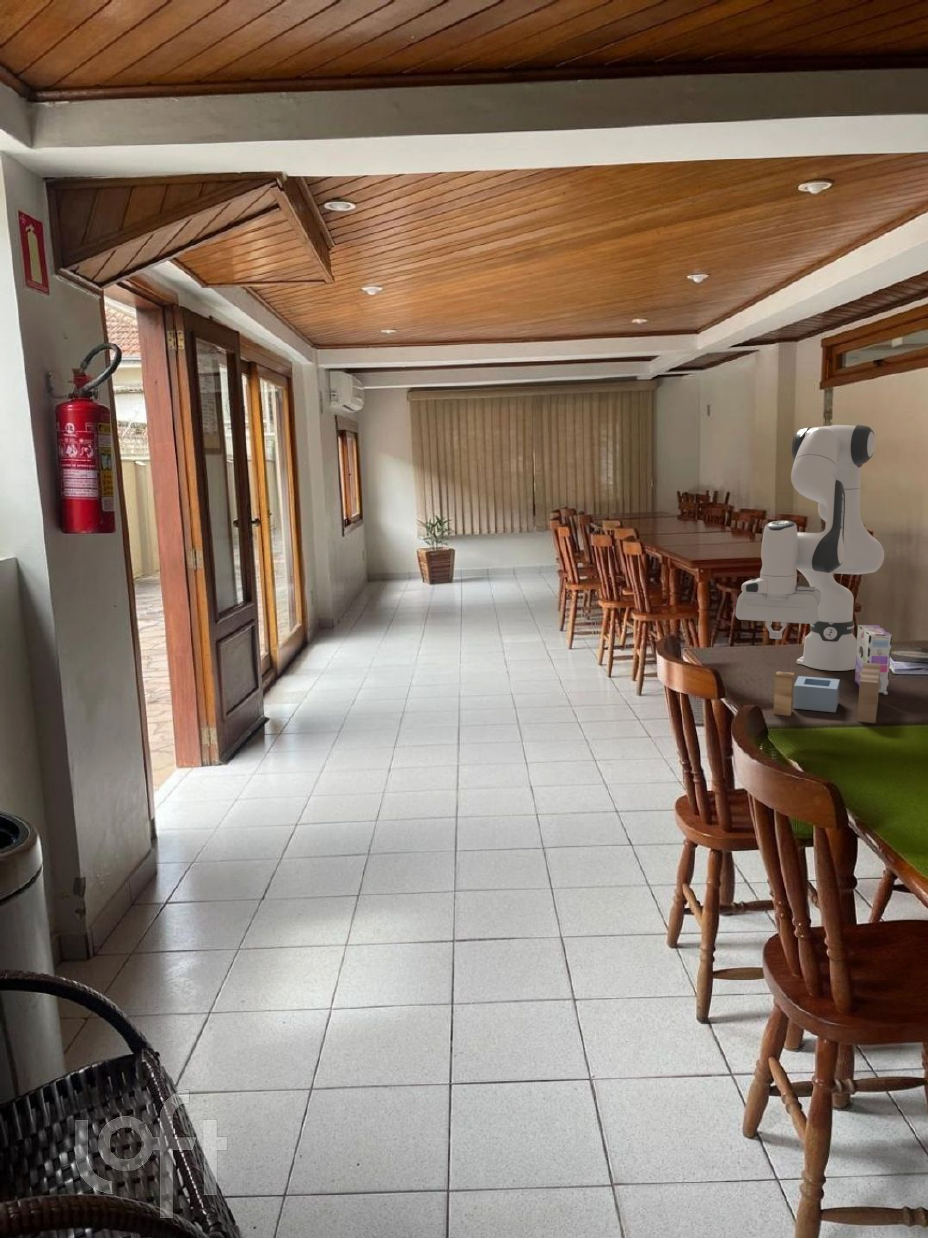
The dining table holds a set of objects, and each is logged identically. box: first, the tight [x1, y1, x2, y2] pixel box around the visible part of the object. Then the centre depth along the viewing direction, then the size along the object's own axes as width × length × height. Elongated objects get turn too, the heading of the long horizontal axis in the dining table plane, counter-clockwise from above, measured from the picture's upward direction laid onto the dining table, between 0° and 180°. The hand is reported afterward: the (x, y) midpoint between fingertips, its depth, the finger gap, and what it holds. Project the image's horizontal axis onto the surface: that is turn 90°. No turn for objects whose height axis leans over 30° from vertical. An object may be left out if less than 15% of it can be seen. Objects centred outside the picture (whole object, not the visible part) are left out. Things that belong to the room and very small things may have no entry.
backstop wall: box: [856, 662, 880, 724], centre depth 223 cm, size 20×4×10 cm, turn 154°
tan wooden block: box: [772, 671, 795, 717], centre depth 224 cm, size 4×4×10 cm
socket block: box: [792, 675, 841, 713], centre depth 229 cm, size 10×10×6 cm
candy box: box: [854, 624, 893, 696], centre depth 243 cm, size 14×6×16 cm, turn 168°
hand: (775, 638), depth 231 cm, fingers closed
